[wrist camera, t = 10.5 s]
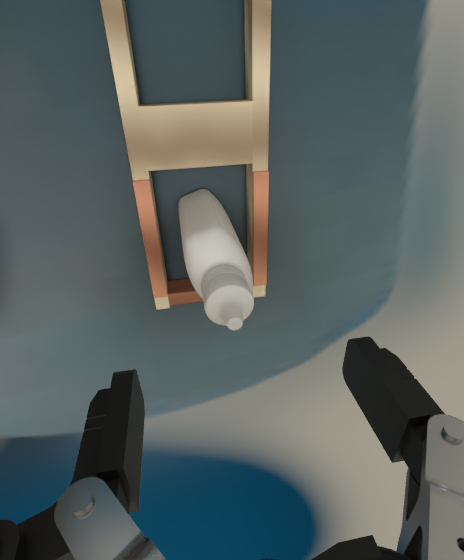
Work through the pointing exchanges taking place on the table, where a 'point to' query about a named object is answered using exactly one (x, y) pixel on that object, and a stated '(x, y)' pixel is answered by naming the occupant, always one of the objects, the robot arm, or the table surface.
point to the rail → (197, 142)
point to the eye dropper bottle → (215, 259)
